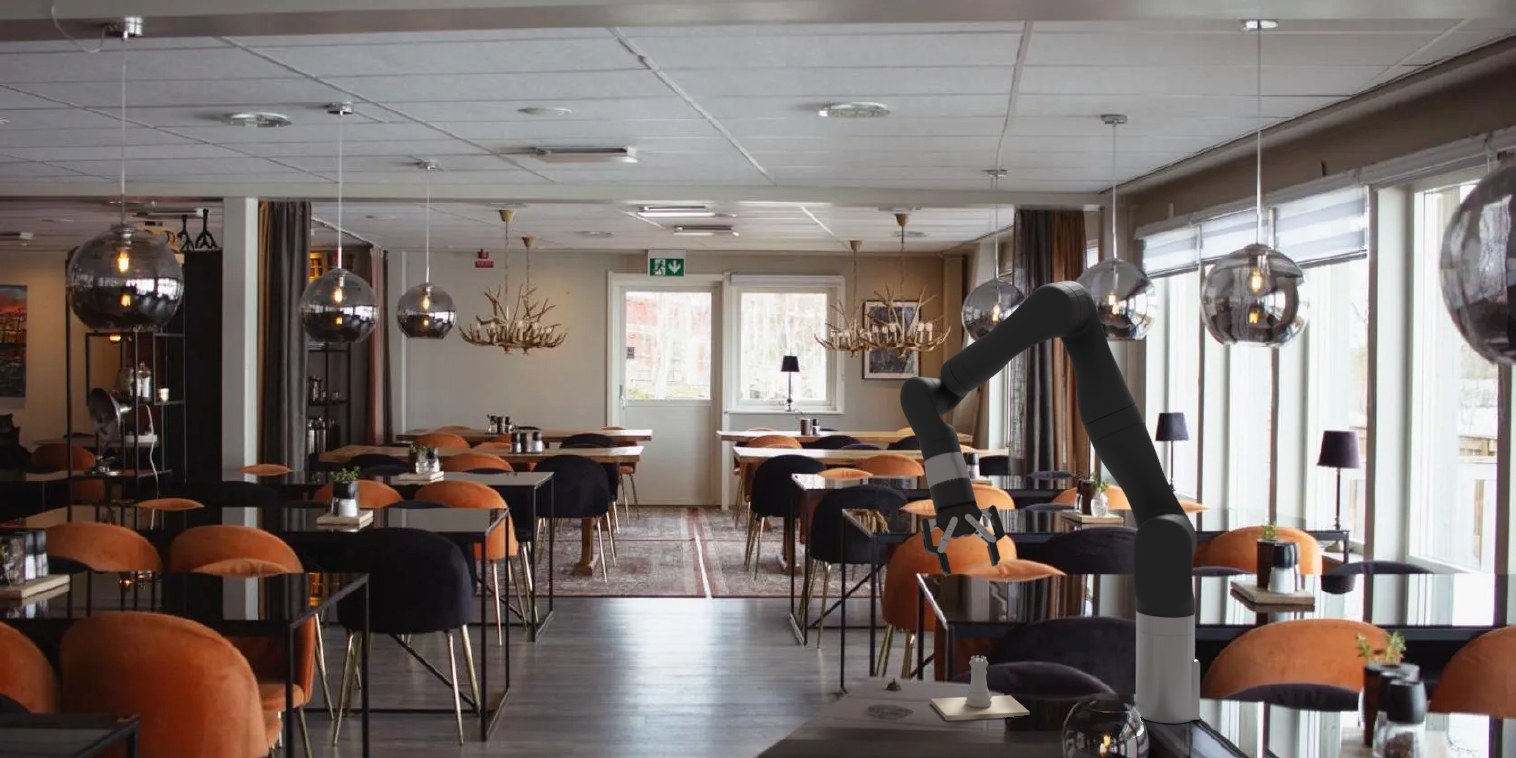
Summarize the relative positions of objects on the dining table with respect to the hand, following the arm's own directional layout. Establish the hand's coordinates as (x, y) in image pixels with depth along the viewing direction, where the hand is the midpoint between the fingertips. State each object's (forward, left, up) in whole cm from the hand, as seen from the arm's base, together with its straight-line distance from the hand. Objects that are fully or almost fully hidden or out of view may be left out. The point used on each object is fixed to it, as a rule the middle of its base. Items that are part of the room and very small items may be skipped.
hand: (972, 570), depth 228 cm
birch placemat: (+2, +11, -21) cm, 24 cm away
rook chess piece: (+2, +11, -21) cm, 24 cm away
